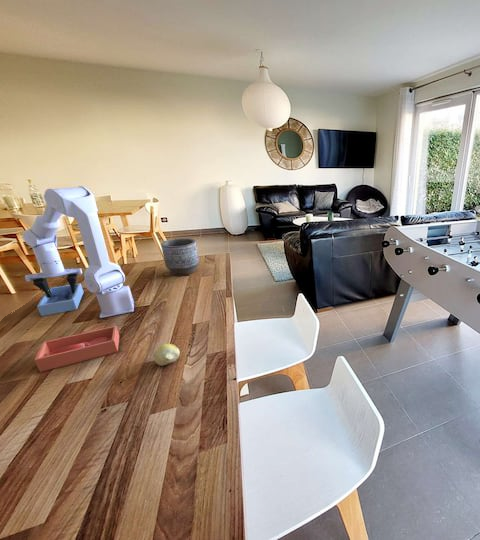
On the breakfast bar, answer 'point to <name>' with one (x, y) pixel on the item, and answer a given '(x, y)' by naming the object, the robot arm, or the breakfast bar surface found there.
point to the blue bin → (71, 304)
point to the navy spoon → (62, 296)
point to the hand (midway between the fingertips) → (62, 294)
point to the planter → (180, 255)
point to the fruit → (166, 354)
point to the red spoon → (79, 345)
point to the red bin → (73, 356)
